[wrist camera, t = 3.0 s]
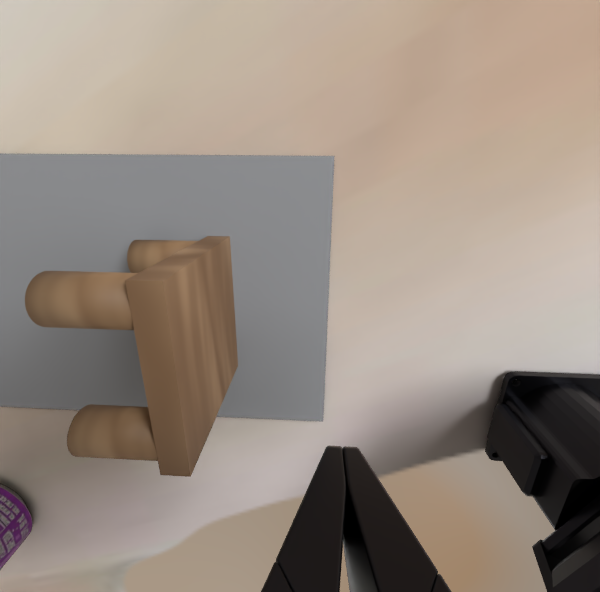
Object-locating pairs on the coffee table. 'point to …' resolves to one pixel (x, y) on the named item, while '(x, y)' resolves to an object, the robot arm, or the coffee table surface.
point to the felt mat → (168, 226)
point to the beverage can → (12, 523)
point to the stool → (153, 346)
